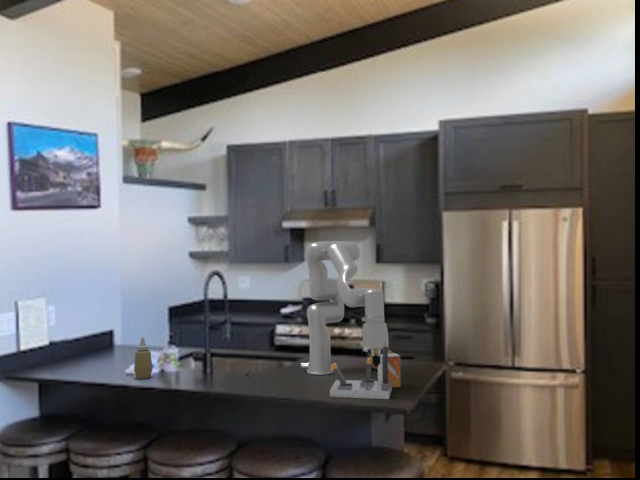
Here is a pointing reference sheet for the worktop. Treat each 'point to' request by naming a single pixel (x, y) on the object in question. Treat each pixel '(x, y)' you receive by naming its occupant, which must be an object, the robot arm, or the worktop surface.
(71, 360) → the worktop surface
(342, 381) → the orange tipped lever
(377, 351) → the pot
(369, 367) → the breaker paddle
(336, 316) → the robot arm
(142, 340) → the squeeze bottle
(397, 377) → the small box
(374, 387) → the panel
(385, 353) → the post
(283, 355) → the worktop surface
